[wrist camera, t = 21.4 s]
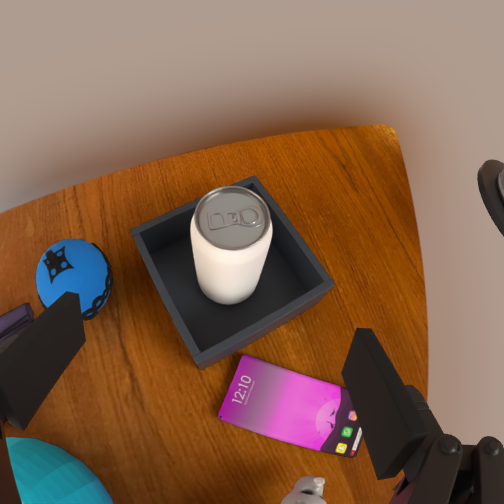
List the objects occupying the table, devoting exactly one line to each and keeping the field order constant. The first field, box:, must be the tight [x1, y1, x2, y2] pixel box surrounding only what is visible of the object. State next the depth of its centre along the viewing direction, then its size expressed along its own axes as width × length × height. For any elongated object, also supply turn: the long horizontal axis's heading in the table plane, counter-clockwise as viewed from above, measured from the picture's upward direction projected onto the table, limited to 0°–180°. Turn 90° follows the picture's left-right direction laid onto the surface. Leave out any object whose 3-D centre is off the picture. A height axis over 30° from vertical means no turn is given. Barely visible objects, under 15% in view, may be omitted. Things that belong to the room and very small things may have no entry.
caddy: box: [130, 175, 335, 370], centre depth 32 cm, size 15×15×6 cm
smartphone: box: [218, 355, 363, 458], centre depth 28 cm, size 7×15×1 cm, turn 69°
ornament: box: [36, 239, 113, 321], centre depth 27 cm, size 9×9×10 cm
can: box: [190, 186, 272, 305], centre depth 28 cm, size 6×6×12 cm
